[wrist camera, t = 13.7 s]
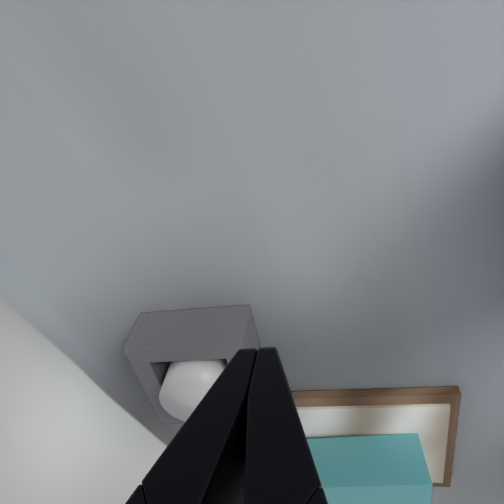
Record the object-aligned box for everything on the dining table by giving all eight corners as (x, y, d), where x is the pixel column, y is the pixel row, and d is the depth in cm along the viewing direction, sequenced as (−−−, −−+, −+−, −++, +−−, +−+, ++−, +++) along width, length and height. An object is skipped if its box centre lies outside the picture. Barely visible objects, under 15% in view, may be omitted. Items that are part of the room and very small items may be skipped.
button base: (249, 304, 24) (242, 342, 22) (269, 382, 28) (265, 422, 25) (140, 313, 26) (122, 348, 23) (173, 386, 29) (161, 423, 27)
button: (227, 337, 24) (218, 378, 22) (241, 381, 26) (234, 423, 24) (165, 341, 25) (149, 381, 23) (183, 384, 27) (171, 424, 25)
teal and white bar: (417, 432, 28) (433, 485, 25) (416, 461, 30) (431, 513, 27) (245, 441, 30) (241, 491, 27) (254, 468, 32) (251, 517, 29)
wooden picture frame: (457, 386, 26) (464, 404, 25) (447, 478, 32) (452, 496, 31) (230, 393, 29) (227, 409, 28) (259, 476, 35) (257, 492, 34)
